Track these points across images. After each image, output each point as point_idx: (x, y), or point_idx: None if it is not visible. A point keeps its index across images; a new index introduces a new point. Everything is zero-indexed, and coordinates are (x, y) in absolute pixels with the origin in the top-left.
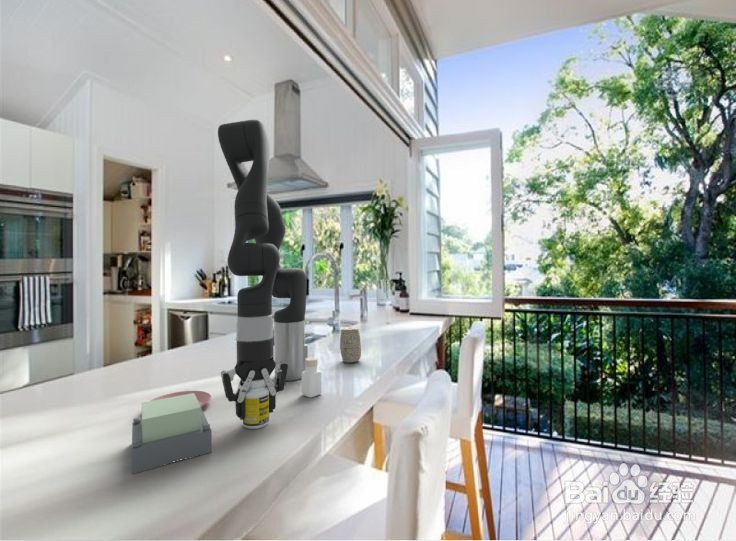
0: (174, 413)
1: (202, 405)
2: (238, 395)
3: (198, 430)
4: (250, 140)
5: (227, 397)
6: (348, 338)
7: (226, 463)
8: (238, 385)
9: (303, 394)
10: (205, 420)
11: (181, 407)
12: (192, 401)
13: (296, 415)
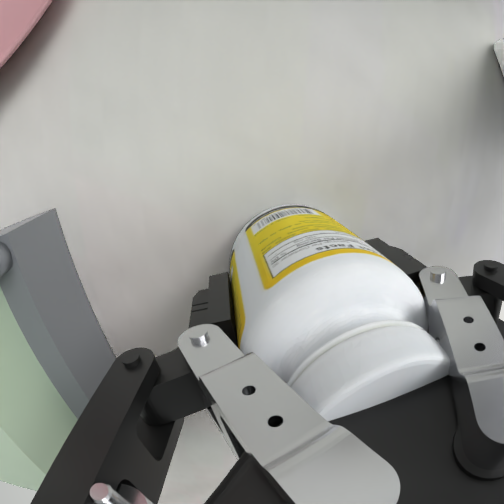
0: (14, 484)
1: (35, 24)
2: (209, 413)
3: None
4: None
5: (139, 422)
6: None
7: (190, 447)
8: (203, 387)
9: (497, 55)
10: (75, 385)
11: (3, 466)
12: (1, 440)
13: (443, 237)
